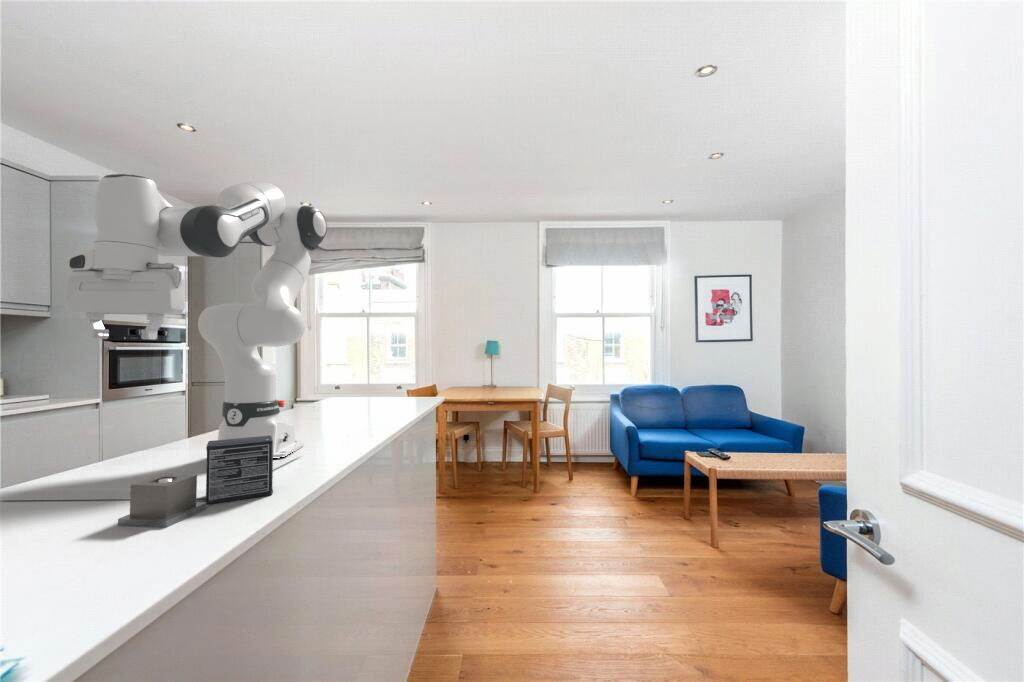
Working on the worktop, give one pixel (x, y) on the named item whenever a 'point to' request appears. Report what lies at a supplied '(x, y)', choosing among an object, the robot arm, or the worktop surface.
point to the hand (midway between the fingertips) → (124, 339)
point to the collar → (163, 496)
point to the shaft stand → (162, 521)
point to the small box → (239, 469)
